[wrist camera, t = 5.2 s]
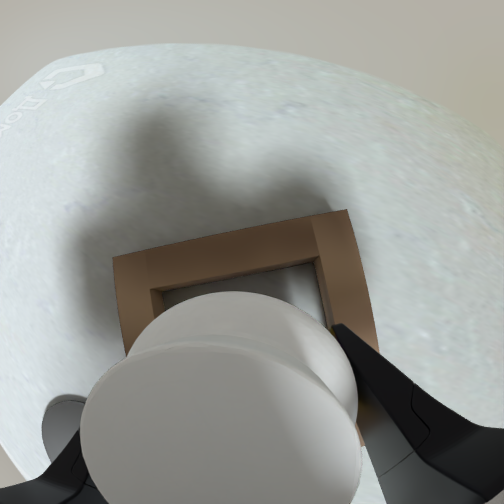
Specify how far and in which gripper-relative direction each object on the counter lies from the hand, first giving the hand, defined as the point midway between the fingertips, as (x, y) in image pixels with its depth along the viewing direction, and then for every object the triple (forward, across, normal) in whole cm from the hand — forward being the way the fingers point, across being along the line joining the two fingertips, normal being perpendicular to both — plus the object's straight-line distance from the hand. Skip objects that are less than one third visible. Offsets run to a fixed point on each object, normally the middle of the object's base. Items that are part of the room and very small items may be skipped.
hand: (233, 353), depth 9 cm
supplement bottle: (+4, 0, +6) cm, 7 cm away
